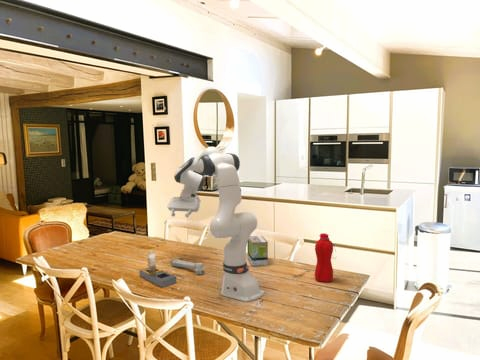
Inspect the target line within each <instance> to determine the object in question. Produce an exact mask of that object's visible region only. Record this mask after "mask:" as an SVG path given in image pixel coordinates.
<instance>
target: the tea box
mask: <svg viewBox="0 0 480 360" xmlns="http://www.w3.org/2000/svg"><path fill="white" fill-rule="evenodd" d="M268 245H269V242H268V240H267V239H266V238H265V237H264V236H263V235H250V237H249V240H248V242H247V260H248V261H249V262H250V264H251V266H252V267H257V266H258V267H259V266H260V267H261V266H268V264H269V263H268V262H269V261H268V260H269V258H268V255H269V254H268V253H269V252H268V251H269V249H268V247H269V246H268Z"/></svg>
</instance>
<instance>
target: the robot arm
mask: <svg viewBox="0 0 480 360" xmlns="http://www.w3.org/2000/svg"><path fill="white" fill-rule="evenodd" d="M240 162H241V161H240V158H239V156H238V155H237V154H235V153H232V152H231V153H230V152H229V153H228V152H227V153H221V151H220V150H219V148H217V147H216V146H208V147H207V148H205V149H204V150H203V151H202V152H201V154H200V155H199V156H195V157H190V158H189V159H188V160H187V161H186V162H184V164H182V165H181V166H179V167H178V168H177V169H176V170H175V172H174V175H173V178H174V181H175V182H176V183H179V184H181V185H183V189H181V192H180V195H179V196H173V197H171V198H170V201H169V202H168V205H167V206H166V207H167V209H168V211H171V213H170V215H171V216H172V218H173V217H176V216H175V215H176V213H175V212H187V213H185V216H184V217H185V218H189V216H190V215H191V214H192V213H197V212H199V210H200V207H201V204H200V203H201V199H200V197H199V196H198V194H196V193H197V192H199V191H201V190H202V189H203V187H204V184H205V177H204V176H208V177H210V178H212V177H213V176H215V177H216V178H217V187H218V188H217V189H218V199H219V204H218V209H217V212H216V214H215V216H214V217H213V218H212V220H211V221H210V222H209V231H210V233H211V235H212V237H214V238H216V239H217V238H218V239H226V238H230V239H229V241H228V242H227V243H226V244H225V245H224V247H223V263H222V268H223V269H222V270H223V275H222V284H221V291H220V295H221V296H224V297H226V298H229V299H230V298H231V299H234V300H237V301H240V302H245V303H247V302H252V301H255V300H257V299H259V298H261V297H263V296H264V295H265V291H264V290H263V289H261V288H260V284H259V281H258V280H257V278H256V277H255V276H254V275H253V274H252V273H251V271H250V265H248V263H247V247H248V240H249V237H250V236H252V234H253V232H255V231H256V229H257V227H258V218H257V217H256V215H255V214H254V213H253V212H247V211H246V212H245V211H243V212H237V213H235V210H236V207H237V206H239V204H241V202H242V199H243V197H242V189H241V185H240V178H239V174H238V171H239V169H240V166H241V163H240ZM203 175H204V176H203Z"/></svg>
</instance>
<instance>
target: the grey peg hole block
mask: <svg viewBox="0 0 480 360" xmlns="http://www.w3.org/2000/svg"><path fill="white" fill-rule="evenodd" d="M138 271H139V277H140V278H142V279H144V280H146V281H149V282H150V283H152V284H154V285H155V286H157V287H160V288H165V287H168V286H170V285H174V284H177V276H176V275H174V274H172V273H169V272H167V271H165V270H164V269H161V268H159V267H157V266H156V271H155V272H152V273H149V271H148V267H146V268H143V269H139V270H138Z"/></svg>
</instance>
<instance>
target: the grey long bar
mask: <svg viewBox="0 0 480 360" xmlns="http://www.w3.org/2000/svg"><path fill="white" fill-rule="evenodd" d="M171 266H172V267H175V268H183V269H184V268H185V269H186V268H187V269H193V270H194V273H195V274H196V276H198V275H204V274H205V269H206V268H205V267H204V265H203V263H202V262H191V261H185V260H180V259H178V258H177V259H173V260H171Z"/></svg>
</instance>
